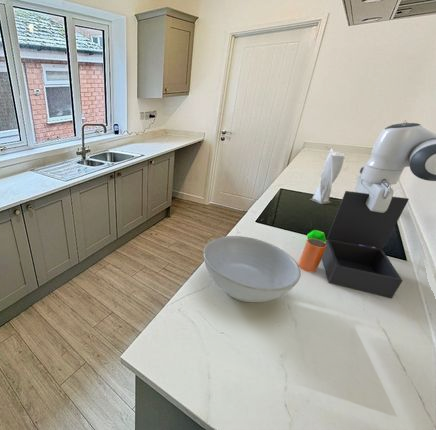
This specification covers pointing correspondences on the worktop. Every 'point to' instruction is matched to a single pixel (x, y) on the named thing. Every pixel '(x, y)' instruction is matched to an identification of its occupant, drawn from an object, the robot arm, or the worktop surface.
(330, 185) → the skyscraper
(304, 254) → the cup
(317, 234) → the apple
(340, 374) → the worktop surface
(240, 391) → the worktop surface
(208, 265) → the decorative bowl
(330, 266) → the black box
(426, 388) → the worktop surface
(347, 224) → the box lid
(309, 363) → the worktop surface
